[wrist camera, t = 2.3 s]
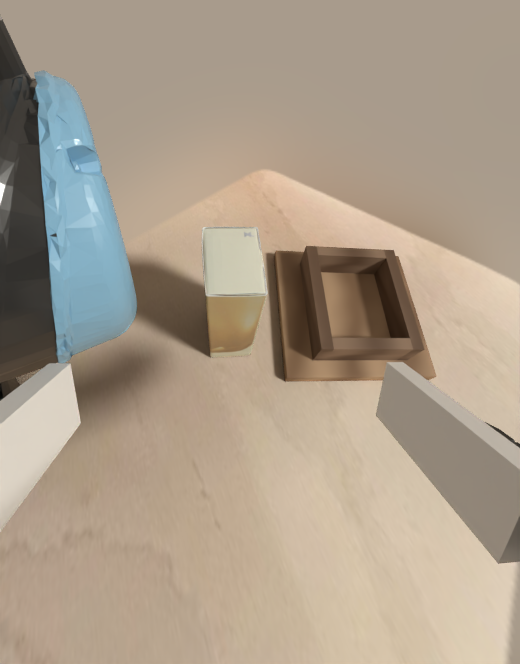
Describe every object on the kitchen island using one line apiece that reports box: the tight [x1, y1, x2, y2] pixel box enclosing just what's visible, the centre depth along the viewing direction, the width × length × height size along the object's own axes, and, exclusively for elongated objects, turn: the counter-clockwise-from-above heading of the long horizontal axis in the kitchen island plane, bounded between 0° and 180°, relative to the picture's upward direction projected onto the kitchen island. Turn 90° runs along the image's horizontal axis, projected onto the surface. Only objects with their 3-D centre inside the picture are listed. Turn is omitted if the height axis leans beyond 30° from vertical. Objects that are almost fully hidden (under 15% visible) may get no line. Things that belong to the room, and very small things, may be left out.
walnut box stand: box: [274, 246, 436, 381], centre depth 33 cm, size 16×16×4 cm
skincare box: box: [202, 227, 268, 358], centre depth 26 cm, size 6×4×12 cm
